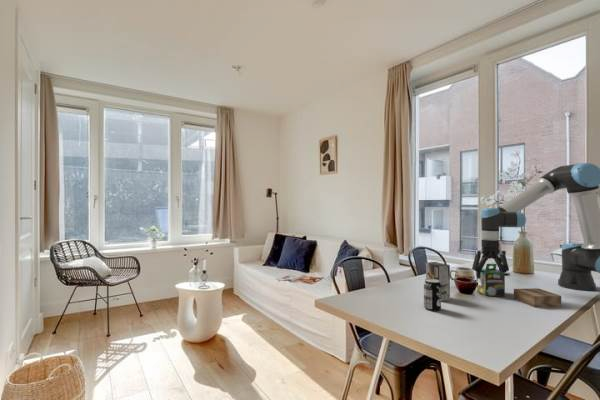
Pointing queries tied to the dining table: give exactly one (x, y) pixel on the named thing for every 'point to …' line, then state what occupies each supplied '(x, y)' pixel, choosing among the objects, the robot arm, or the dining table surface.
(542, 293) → the walnut block
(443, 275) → the coffee box
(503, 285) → the chalk box
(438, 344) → the dining table surface
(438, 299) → the beverage can
